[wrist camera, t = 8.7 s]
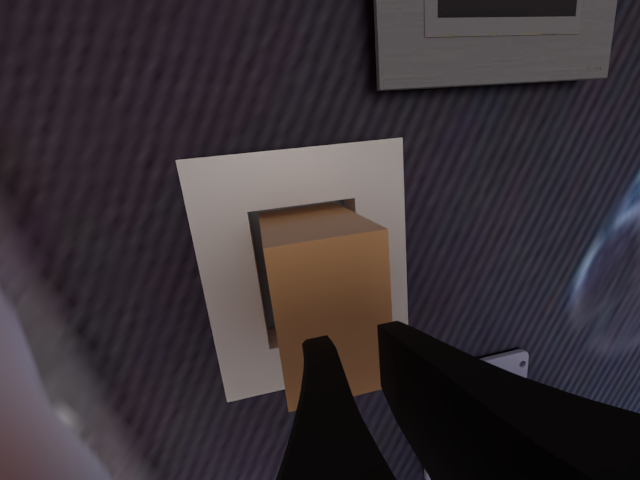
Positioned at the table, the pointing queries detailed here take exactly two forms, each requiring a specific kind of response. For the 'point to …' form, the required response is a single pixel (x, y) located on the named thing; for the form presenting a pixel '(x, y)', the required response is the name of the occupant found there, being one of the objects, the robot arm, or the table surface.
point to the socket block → (246, 243)
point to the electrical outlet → (490, 42)
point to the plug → (327, 289)
